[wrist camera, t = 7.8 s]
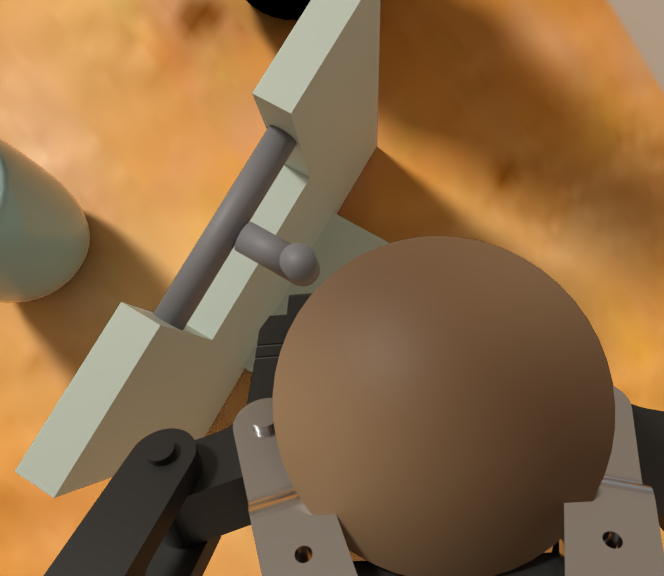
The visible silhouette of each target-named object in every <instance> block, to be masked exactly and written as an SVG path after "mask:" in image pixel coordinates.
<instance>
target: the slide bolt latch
mask: <svg viewBox="0 0 664 576" xmlns="http://www.w3.org/2000/svg"><path fill="white" fill-rule="evenodd" d="M380 2H381V0H311V1H310V2H309V4H308V5H307V7H306V9H305V10H304V12H303V13H302V15H301V17H300V18H299V20H298V21H297V23H296V24H295V26H294V28H293V29H292V31H291V32H290V34H289V36H288V37H287V39H286V40H285V42H284V44H283V45H282V47H281V48H280V50H279V52H278V53H277V55H276V56H275V58H274V59H273V61H272V63H271V64H270V66H269V67H268V69H267V71H266V72H265V74H264V75H263V77H262V79H261V80H260V82H259V83H258V85H257V87H256V88H255V90H254V91H253V93H252V94H253V96H254V99H255V101H256V104H257V106H258V109H259V111H260V114H261V116H262V118H263V121H264V123H265V126H266V128H267V130H266V132H265V134H264V135H263V137H262V138H261V140H260V142H259V143H258V145H257V147H256V148H255V150H254V151H253V153H252V155H251V156H250V158H249V159H248V161H247V163H246V164H245V166H244V167H243V169H242V171H241V172H240V174H239V176H238V177H237V179H236V180H235V182H234V184H233V185H232V187H231V188H230V190H229V192H228V193H227V195H226V197H225V198H224V200H223V201H222V203H221V205H220V206H219V208H218V209H217V211H216V213H215V214H214V216H213V217H212V219H211V221H210V222H209V224H208V226H207V227H206V229H205V230H204V232H203V234H202V235H201V237H200V238H199V240H198V242H197V243H196V245H195V247H194V248H193V250H192V251H191V253H190V255H189V256H188V258H187V259H186V261H185V263H184V264H183V266H182V267H181V269H180V271H179V272H178V274H177V276H176V277H175V279H174V280H173V282H172V284H171V285H170V287H169V288H168V290H167V292H166V293H165V295H164V296H163V298H162V300H161V301H160V303H159V305H158V306H157V308H156V309H155V311H154V312H151V311H148V310H145V309H142V308H139V307H136V306H133V305H130V304H127V303H124V302H121V303H120V305H119V306H118V308H117V309H116V311H115V312H114V314H113V316H112V317H111V319H110V320H109V322H108V324H107V325H106V327H105V328H104V330H103V332H102V333H101V335H100V336H99V338H98V340H97V341H96V343H95V344H94V346H93V347H92V349H91V351H90V352H89V354H88V355H87V357H86V359H85V360H84V362H83V363H82V365H81V367H80V368H79V370H78V371H77V373H76V375H75V376H74V378H73V379H72V381H71V382H70V384H69V386H68V387H67V389H66V390H65V392H64V394H63V395H62V397H61V398H60V400H59V402H58V403H57V405H56V406H55V408H54V410H53V411H52V413H51V414H50V416H49V417H48V419H47V421H46V422H45V424H44V425H43V427H42V429H41V430H40V432H39V433H38V435H37V437H36V438H35V440H34V441H33V443H32V445H31V446H30V448H29V449H28V451H27V452H26V454H25V456H24V457H23V459H22V460H21V462H20V464H19V465H18V467H17V468H16V470H15V472H16V473H18V474H19V475H20V476H22V477H23V478H25V479H26V480H28V481H29V482H31V483H32V484H34V485H35V486H37V487H38V488H40V489H41V490H43V491H44V492H46V493H47V494H49V495H50V496H52V497H53V498H55V497H58V496H61V495H63V494H66V493H69V492H72V491H75V490H77V489H80V488H83V487H86V486H89V485H91V484H94V483H97V482H100V481H103V480H105V479H108V478H111V477H113V476H114V475H115V473H116V472H117V470H118V469H119V468H120V466H121V465H122V463H123V462H124V460H125V459H126V458H127V456H128V455H129V453H130V452H131V451H132V449H133V448H134V447H135V445H136V444H137V443H138V442H139V441H140V440H142V439H143V438H144V437H146V436H148V435H149V434H151V433H153V432H156V431H159V430H162V429H168V428H175V429H181V430H184V431H186V432H188V433H189V434H190V435H191V436H192V437H193V438H194V440H196V439H199V438H202V437H205V436H206V434H207V432H208V431H209V429H210V427H211V425H212V424H213V422H214V420H215V419H216V417H217V415H218V414H219V412H220V410H221V409H222V407H223V405H224V404H225V402H226V400H227V398H228V397H229V395H230V393H231V392H232V390H233V388H234V387H235V385H236V383H237V382H238V380H239V378H240V377H241V375H242V373H243V371H244V370H245V369H247V370H248V371H250V372H253V366H254V360H255V354H256V347H257V341H258V335H259V329H260V328H261V327H262V325H263V324H264V323H265V321H266V320H267V319H268V317H269V316H274V315H287V307H288V298H289V295H292V294H306V293H313V292H314V291H315V290H316V289H317V288H318V287H319V286H320V285H321V284H322V283H323V282H324V281H325V280H326V279H327V278H328V277H329V276H331V275H332V274H333V273H334V272H336V271H337V270H338V269H339V268H340V267H342V266H343V265H345V264H347V263H348V262H350V261H351V260H353V259H354V258H356V257H358V256H359V255H362V254H364V253H366V252H368V251H370V250H372V249H374V248H377V247H379V246H382V245H386V244H389V242H387V241H385V240H383V239H382V238H380V237H378V236H376V235H374V234H372V233H370V232H369V231H367V230H365V229H363V228H361V227H359V226H358V225H356V224H354V223H352V222H350V221H348V220H347V219H345V218H343V217H341V216H339V215H337V213H338V211H339V210H340V208H341V206H342V205H343V203H344V201H345V199H346V198H347V196H348V194H349V193H350V191H351V189H352V188H353V186H354V184H355V183H356V181H357V179H358V178H359V176H360V174H361V172H362V171H363V169H364V167H365V166H366V164H367V162H368V161H369V159H370V157H371V156H372V154H373V152H374V151H375V149H376V147H377V129H378V86H379V44H380Z"/></svg>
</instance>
